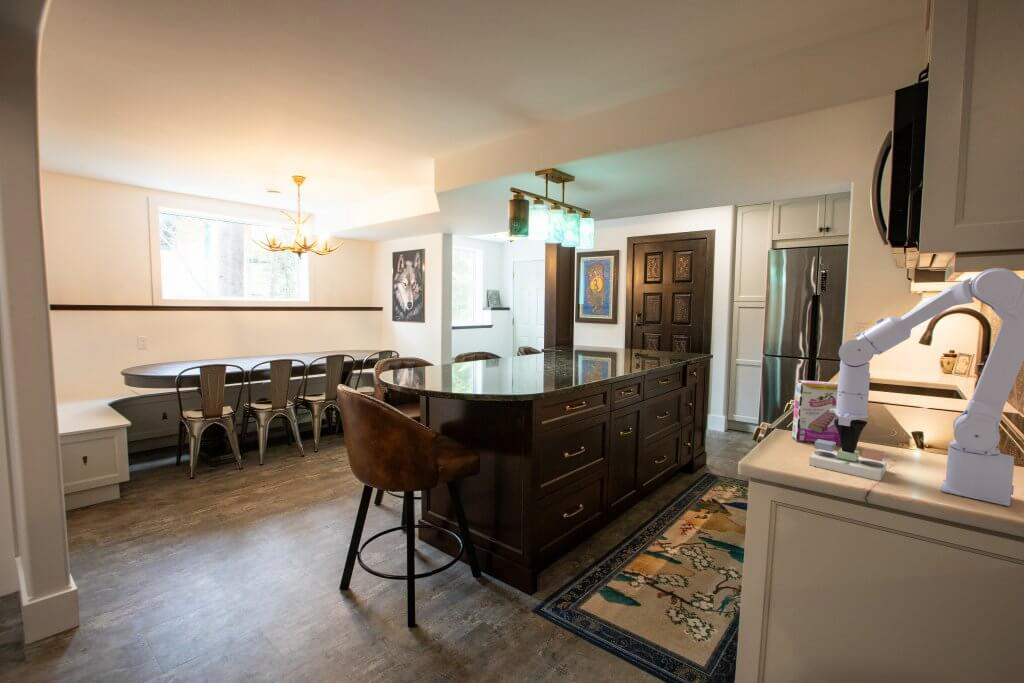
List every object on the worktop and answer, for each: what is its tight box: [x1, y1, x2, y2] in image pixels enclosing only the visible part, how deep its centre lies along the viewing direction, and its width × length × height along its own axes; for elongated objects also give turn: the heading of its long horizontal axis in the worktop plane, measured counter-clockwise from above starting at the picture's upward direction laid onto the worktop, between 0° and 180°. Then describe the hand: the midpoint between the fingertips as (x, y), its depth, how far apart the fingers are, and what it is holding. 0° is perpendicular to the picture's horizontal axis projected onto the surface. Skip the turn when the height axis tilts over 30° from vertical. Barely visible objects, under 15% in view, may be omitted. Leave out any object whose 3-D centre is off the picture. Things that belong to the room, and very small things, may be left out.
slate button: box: [814, 439, 837, 452], centre depth 110 cm, size 4×4×2 cm
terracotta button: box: [861, 447, 886, 462], centre depth 103 cm, size 4×4×2 cm
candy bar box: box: [791, 379, 841, 446], centre depth 127 cm, size 11×5×16 cm, turn 74°
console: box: [808, 449, 888, 482], centre depth 107 cm, size 13×9×2 cm
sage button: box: [836, 448, 860, 461], centre depth 107 cm, size 4×4×2 cm
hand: (848, 451), depth 107 cm, fingers closed, pressing on sage button
